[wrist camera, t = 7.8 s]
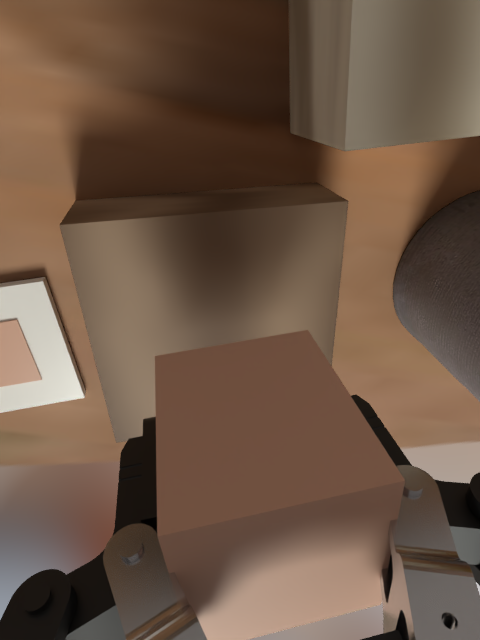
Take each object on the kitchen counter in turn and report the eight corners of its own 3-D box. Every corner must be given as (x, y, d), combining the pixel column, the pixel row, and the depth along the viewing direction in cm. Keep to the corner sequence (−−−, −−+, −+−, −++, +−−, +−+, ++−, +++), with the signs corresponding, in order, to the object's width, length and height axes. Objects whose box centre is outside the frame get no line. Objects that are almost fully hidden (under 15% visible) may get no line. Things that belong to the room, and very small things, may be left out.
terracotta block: (179, 463, 15) (193, 654, 10) (154, 356, 13) (157, 536, 8) (307, 437, 16) (381, 604, 11) (307, 330, 13) (404, 480, 8)
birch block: (290, 133, 18) (344, 151, 13) (288, -11, 15) (355, -58, 10) (395, 121, 19) (487, 135, 14) (409, -18, 16) (530, -67, 11)
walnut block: (121, 391, 24) (116, 442, 20) (76, 198, 18) (59, 225, 15) (303, 365, 25) (327, 408, 22) (314, 181, 20) (348, 201, 16)
